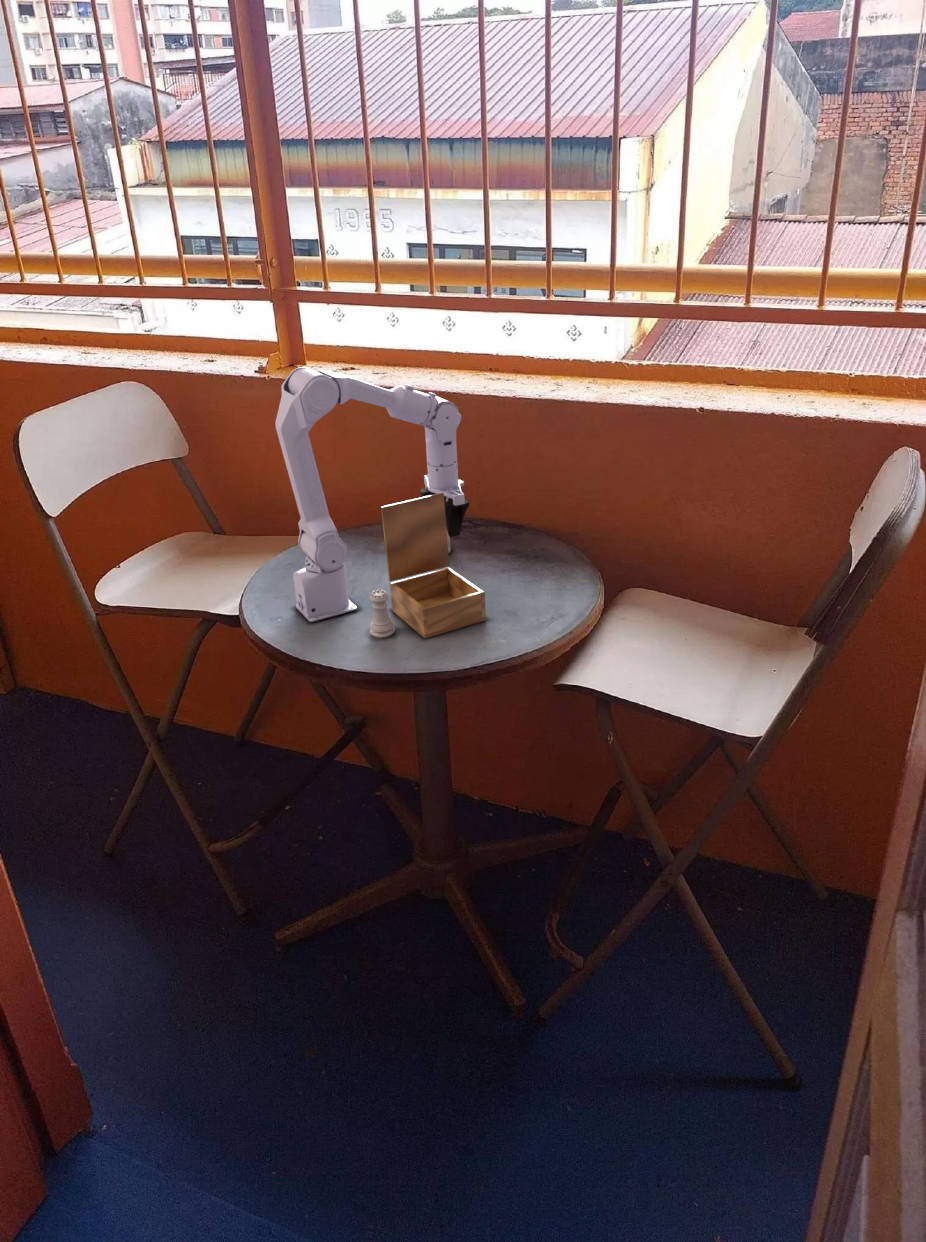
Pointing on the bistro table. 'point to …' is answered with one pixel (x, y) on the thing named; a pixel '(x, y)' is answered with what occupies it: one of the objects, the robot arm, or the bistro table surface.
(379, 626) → the rook chess piece
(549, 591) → the bistro table surface
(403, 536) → the lid
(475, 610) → the keepsake box
